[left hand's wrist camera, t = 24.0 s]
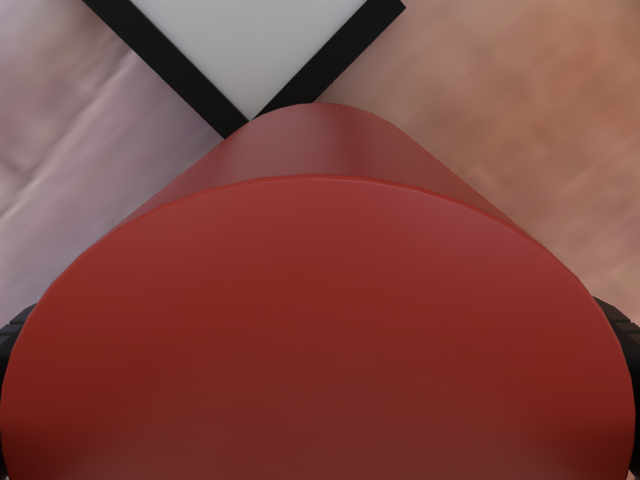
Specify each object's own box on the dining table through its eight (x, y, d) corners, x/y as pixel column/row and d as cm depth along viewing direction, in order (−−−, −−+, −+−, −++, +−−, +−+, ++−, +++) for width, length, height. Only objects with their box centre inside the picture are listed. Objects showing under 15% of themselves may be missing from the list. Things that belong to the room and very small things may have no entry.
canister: (321, 386, 18) (322, 722, 9) (136, 239, 16) (-120, 485, 7) (501, 234, 16) (759, 476, 6) (316, 37, 13) (308, -20, 4)
